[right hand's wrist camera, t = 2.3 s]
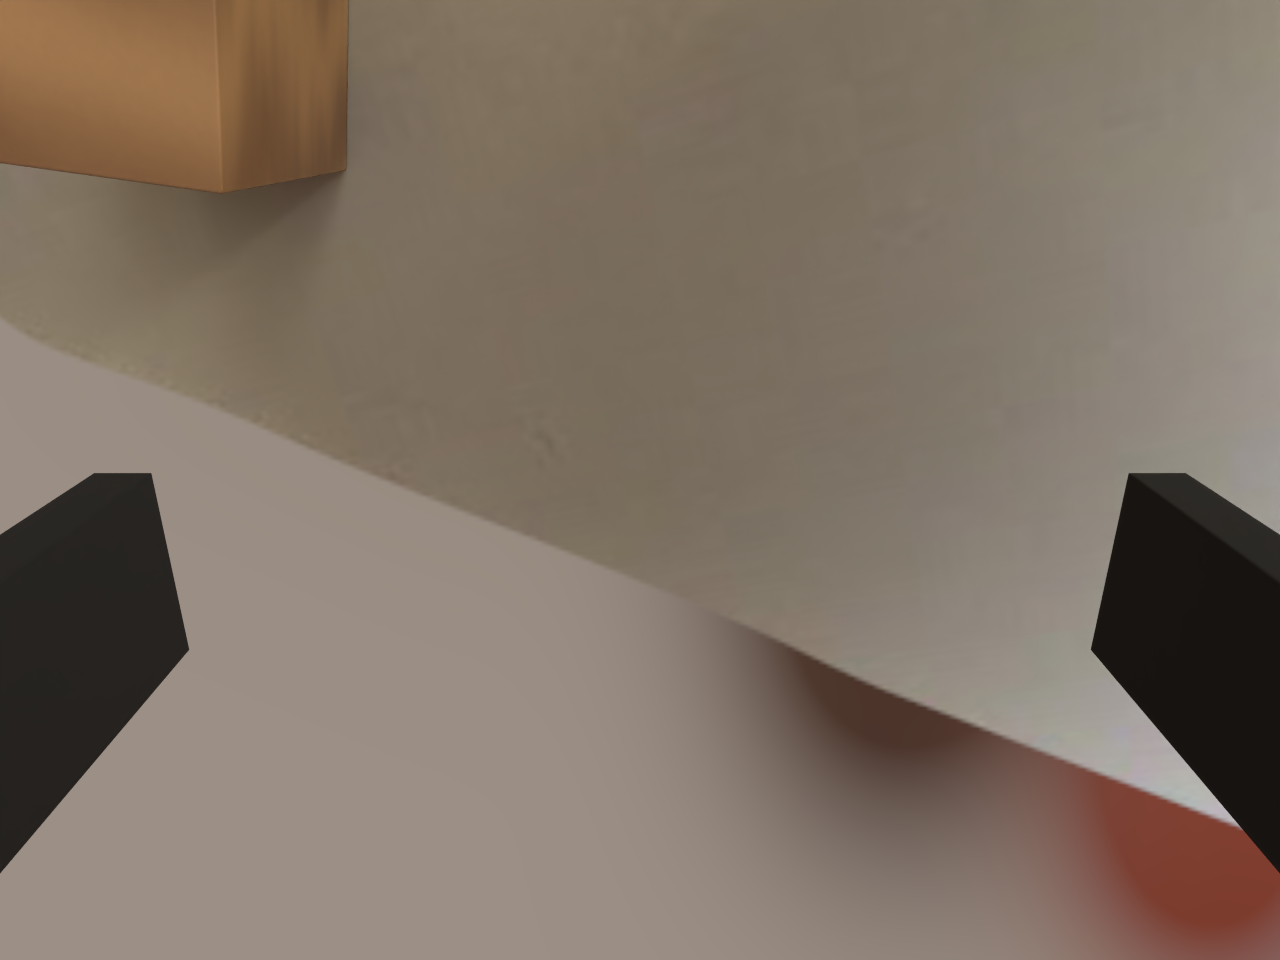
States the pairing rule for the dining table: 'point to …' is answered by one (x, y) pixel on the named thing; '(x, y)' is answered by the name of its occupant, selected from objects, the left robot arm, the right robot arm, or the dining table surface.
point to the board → (175, 89)
